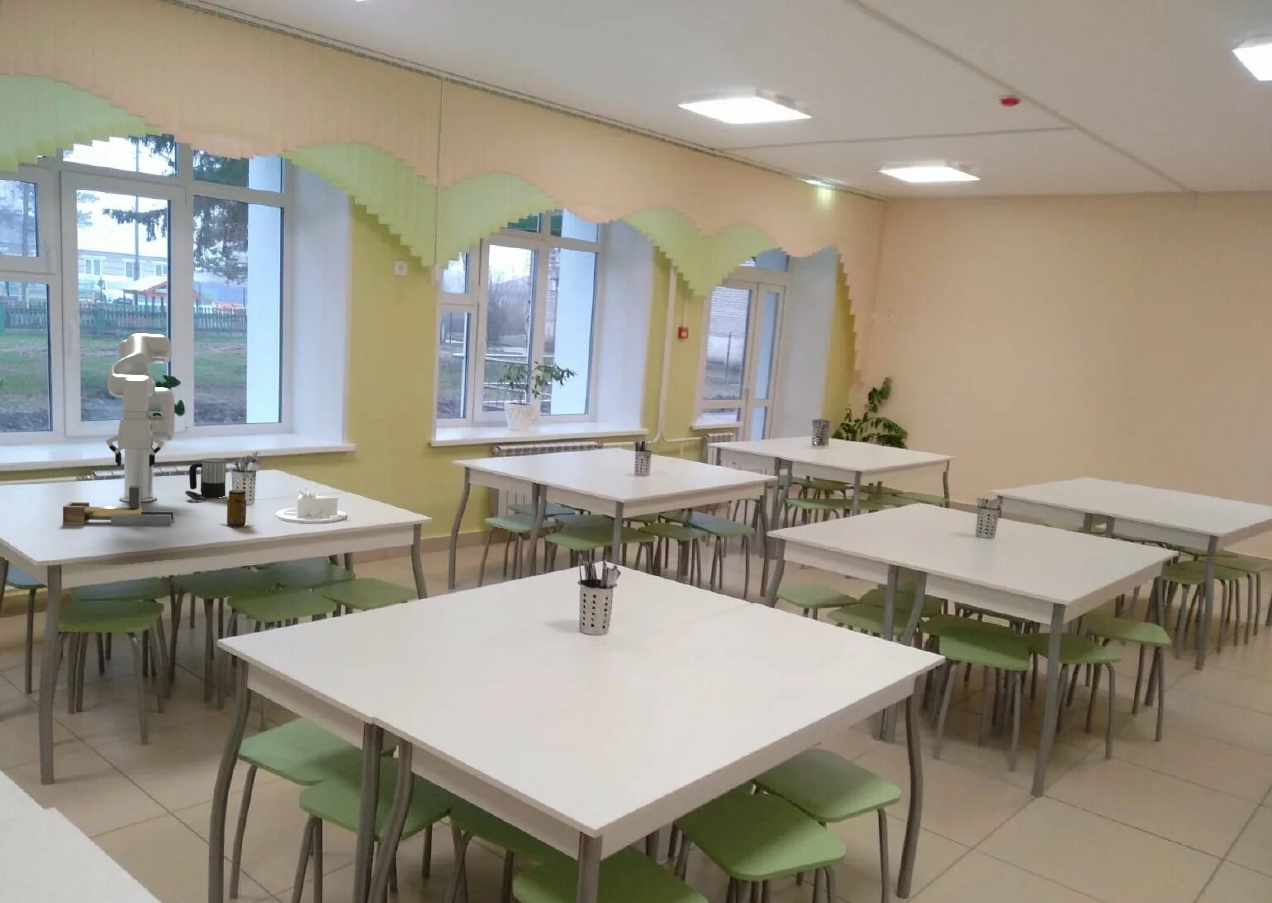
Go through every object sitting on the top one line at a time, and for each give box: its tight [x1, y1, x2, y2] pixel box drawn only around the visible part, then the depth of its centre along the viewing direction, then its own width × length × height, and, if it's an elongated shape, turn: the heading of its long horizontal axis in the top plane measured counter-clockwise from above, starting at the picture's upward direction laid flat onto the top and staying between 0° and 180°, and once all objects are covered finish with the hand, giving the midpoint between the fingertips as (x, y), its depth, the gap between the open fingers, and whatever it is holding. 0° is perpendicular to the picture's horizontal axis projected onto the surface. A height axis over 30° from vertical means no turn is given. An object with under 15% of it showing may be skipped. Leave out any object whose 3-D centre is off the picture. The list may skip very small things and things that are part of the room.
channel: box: [110, 510, 175, 526], centre depth 325 cm, size 8×18×3 cm, turn 108°
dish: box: [274, 484, 347, 524], centre depth 354 cm, size 25×25×11 cm
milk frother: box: [184, 457, 228, 502], centre depth 371 cm, size 14×16×15 cm
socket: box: [62, 501, 90, 526], centre depth 319 cm, size 8×6×6 cm
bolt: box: [85, 486, 143, 521], centre depth 321 cm, size 4×20×11 cm, turn 108°
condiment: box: [221, 489, 254, 529], centre depth 331 cm, size 7×8×12 cm
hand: (135, 465), depth 323 cm, fingers open, 9 cm apart
